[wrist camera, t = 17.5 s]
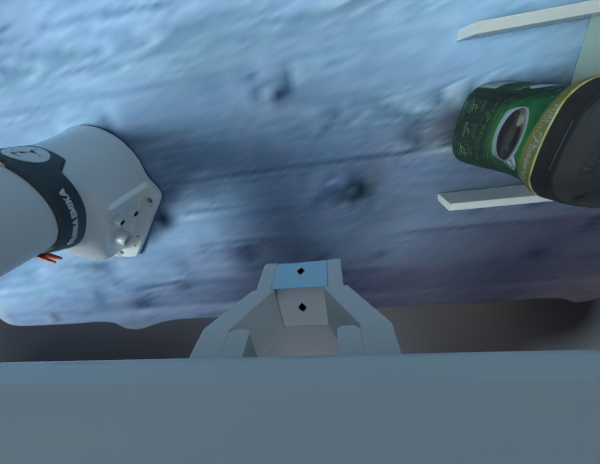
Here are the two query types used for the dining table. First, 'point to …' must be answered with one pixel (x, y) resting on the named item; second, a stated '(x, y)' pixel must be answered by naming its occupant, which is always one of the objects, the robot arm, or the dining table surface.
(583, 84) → the coffee jar
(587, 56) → the report bay
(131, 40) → the dining table surface
